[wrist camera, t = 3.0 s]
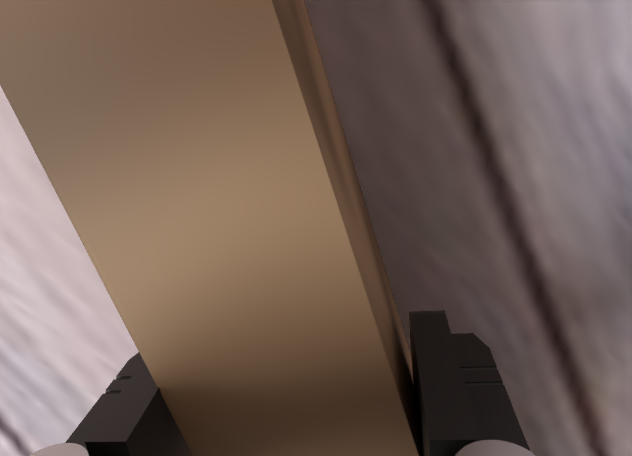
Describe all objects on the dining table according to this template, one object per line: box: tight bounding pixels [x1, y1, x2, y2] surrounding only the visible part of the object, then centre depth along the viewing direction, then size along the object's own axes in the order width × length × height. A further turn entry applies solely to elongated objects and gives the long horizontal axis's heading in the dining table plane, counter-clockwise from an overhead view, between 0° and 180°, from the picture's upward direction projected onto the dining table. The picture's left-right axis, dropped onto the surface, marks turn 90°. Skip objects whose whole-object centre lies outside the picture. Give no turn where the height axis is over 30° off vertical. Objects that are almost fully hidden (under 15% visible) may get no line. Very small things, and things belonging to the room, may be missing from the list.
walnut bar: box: [0, 0, 422, 456], centre depth 10 cm, size 24×4×4 cm, turn 18°
